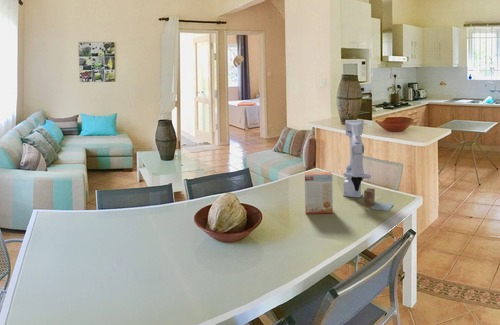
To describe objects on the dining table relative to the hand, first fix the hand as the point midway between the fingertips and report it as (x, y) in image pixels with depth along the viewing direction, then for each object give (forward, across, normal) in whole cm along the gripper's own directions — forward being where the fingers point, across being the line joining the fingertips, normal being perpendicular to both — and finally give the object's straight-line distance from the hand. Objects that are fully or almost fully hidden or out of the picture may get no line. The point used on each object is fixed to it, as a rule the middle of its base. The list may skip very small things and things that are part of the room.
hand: (356, 190), depth 235 cm
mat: (+7, +14, 0) cm, 16 cm away
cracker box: (+8, -14, -21) cm, 26 cm away
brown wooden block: (+8, +7, 0) cm, 10 cm away
